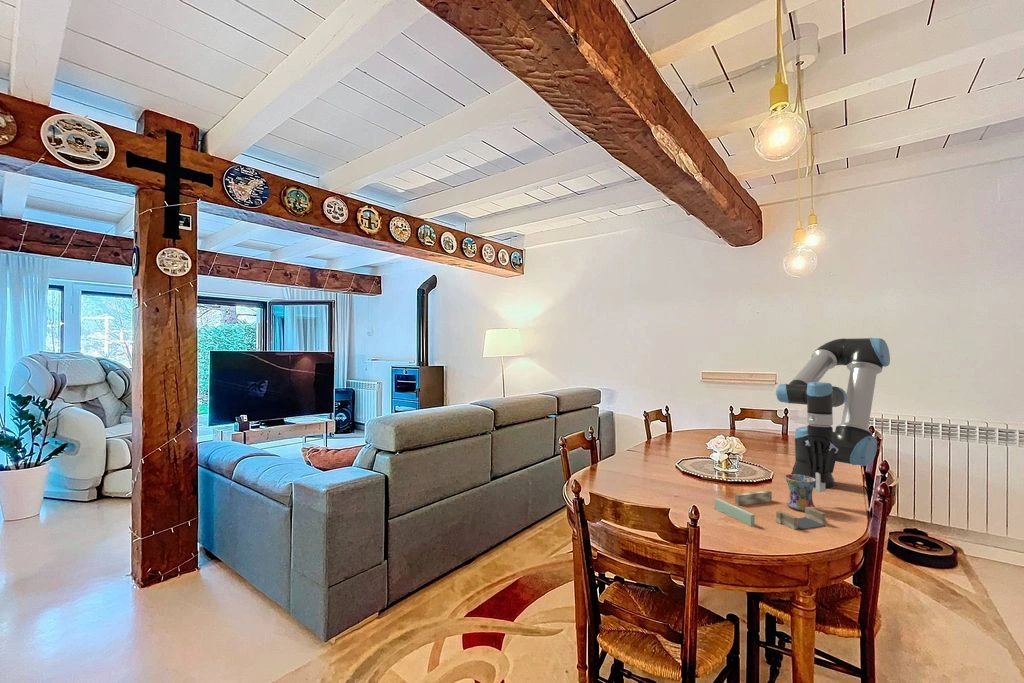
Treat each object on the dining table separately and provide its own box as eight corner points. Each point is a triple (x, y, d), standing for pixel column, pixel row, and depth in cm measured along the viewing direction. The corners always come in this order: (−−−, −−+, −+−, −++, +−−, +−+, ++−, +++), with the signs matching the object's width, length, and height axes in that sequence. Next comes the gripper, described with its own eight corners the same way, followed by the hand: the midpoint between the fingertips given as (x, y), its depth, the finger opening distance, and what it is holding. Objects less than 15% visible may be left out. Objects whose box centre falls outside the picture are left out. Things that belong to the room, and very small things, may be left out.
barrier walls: (768, 499, 164) (768, 490, 164) (829, 523, 142) (829, 512, 142) (735, 504, 160) (735, 494, 160) (792, 529, 137) (792, 518, 137)
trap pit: (805, 518, 146) (805, 517, 146) (825, 526, 140) (825, 525, 140) (781, 521, 144) (781, 520, 144) (800, 530, 137) (800, 529, 137)
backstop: (718, 508, 156) (718, 498, 156) (754, 525, 141) (754, 514, 141) (714, 508, 156) (714, 498, 156) (750, 526, 140) (750, 515, 140)
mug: (812, 515, 149) (811, 483, 149) (781, 508, 156) (781, 477, 156) (822, 506, 157) (821, 476, 157) (792, 499, 164) (791, 471, 164)
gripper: (795, 422, 164) (796, 486, 164) (829, 428, 152) (830, 497, 151) (811, 422, 167) (811, 484, 166) (845, 427, 154) (846, 495, 153)
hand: (820, 490), depth 159 cm, fingers closed
